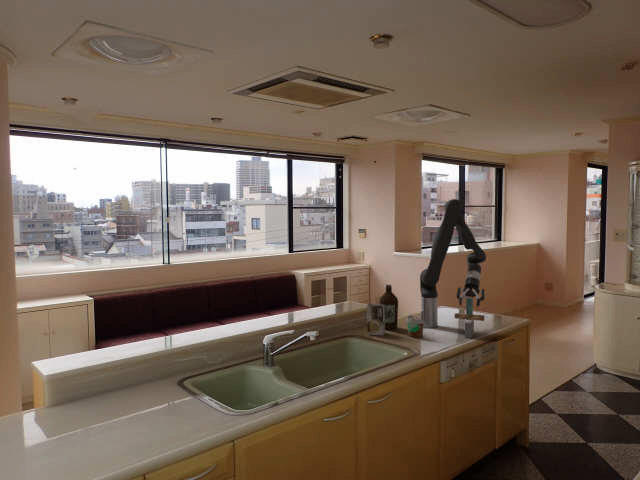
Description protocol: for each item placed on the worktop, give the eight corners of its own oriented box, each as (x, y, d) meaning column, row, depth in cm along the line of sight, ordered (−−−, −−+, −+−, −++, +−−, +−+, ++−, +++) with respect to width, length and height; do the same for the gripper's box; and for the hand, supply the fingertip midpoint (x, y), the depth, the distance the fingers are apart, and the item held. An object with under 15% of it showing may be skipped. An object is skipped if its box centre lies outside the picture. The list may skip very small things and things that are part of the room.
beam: (454, 318, 259) (454, 297, 258) (455, 317, 262) (455, 296, 261) (483, 321, 252) (483, 299, 251) (484, 319, 255) (484, 298, 254)
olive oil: (380, 325, 282) (380, 283, 281) (398, 326, 280) (398, 283, 279) (378, 330, 272) (378, 286, 270) (398, 331, 270) (397, 286, 268)
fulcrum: (464, 337, 254) (464, 320, 253) (468, 333, 263) (468, 316, 262) (470, 338, 252) (470, 321, 252) (473, 333, 261) (473, 317, 261)
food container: (401, 334, 263) (401, 316, 262) (411, 333, 265) (411, 315, 264) (413, 339, 251) (413, 320, 251) (424, 338, 254) (424, 319, 253)
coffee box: (385, 332, 267) (385, 303, 266) (383, 335, 261) (383, 306, 260) (368, 331, 269) (368, 303, 268) (366, 334, 263) (366, 305, 262)
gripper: (458, 276, 265) (454, 300, 256) (485, 277, 259) (482, 302, 249) (460, 284, 270) (456, 308, 261) (487, 285, 264) (483, 310, 254)
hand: (469, 305), depth 255 cm, fingers open, 8 cm apart
